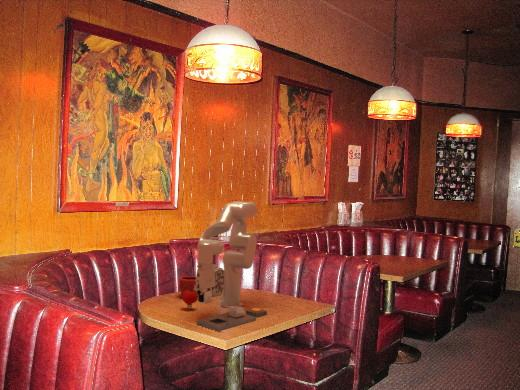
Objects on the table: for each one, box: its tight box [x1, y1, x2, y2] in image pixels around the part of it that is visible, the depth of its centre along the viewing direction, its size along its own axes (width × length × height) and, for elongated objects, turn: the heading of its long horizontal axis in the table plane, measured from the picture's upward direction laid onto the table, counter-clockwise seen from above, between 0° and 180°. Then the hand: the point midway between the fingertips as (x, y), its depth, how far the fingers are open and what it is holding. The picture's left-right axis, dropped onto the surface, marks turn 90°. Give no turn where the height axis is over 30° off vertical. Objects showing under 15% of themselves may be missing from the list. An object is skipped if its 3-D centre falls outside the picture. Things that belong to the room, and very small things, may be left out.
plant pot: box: [179, 275, 198, 298], centre depth 308 cm, size 13×13×12 cm
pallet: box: [196, 311, 257, 333], centre depth 256 cm, size 16×26×2 cm, turn 139°
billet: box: [197, 289, 213, 304], centre depth 264 cm, size 5×5×6 cm
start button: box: [250, 307, 263, 312], centre depth 272 cm, size 4×4×2 cm
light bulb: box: [181, 291, 198, 310], centre depth 281 cm, size 9×7×10 cm
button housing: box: [245, 308, 268, 318], centre depth 272 cm, size 8×8×3 cm
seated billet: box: [228, 306, 244, 319], centre depth 261 cm, size 5×5×6 cm
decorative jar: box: [212, 264, 224, 297], centre depth 319 cm, size 12×12×18 cm
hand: (204, 300), depth 264 cm, fingers closed on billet, 5 cm apart
